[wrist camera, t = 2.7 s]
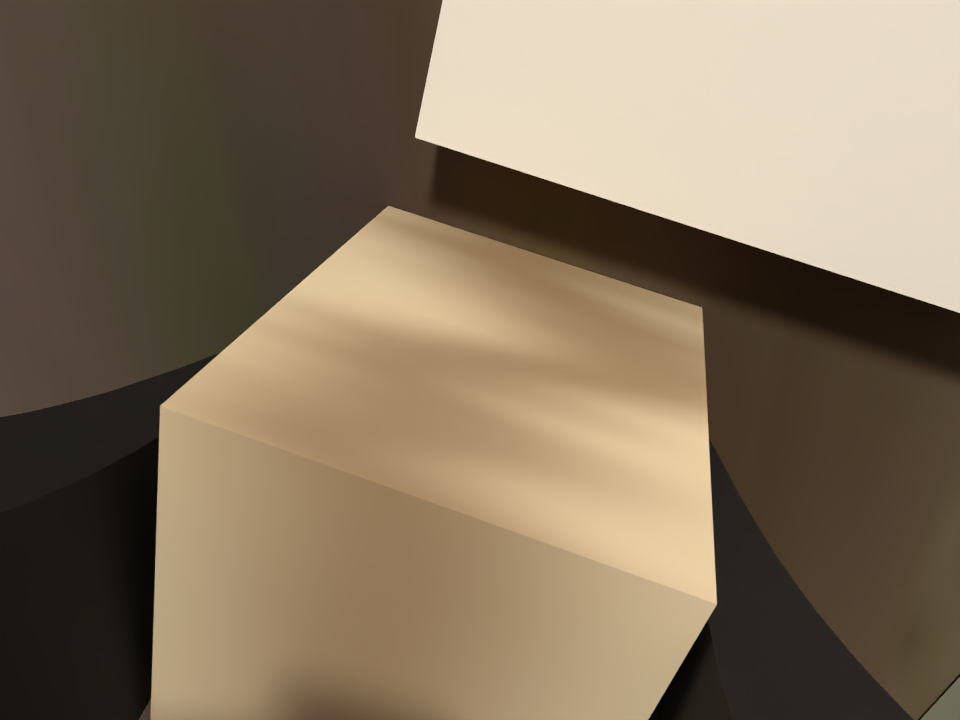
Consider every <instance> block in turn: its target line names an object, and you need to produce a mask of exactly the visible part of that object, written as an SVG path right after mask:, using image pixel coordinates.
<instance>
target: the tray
mask: <svg viewBox="0 0 960 720" xmlns="http://www.w3.org/2000/svg"><path fill="white" fill-rule="evenodd" d="M921 720H960V677H959V678H958V679H957V680H956V681H955V682H954V684H953V685H952V686H951V687H950V688H949V689H948V690H947V691H946V692H945V693H944V694H943V696H942V697H941V698H940V699H939V700H938V701H937V702H936V703H935V704H934V705H933V706H932V708H931V709H930V710H929V711H928V712H927V713H926V714H925V715H924V716H923V717H922V718H921Z"/></svg>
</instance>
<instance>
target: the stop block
mask: <svg viewBox="0 0 960 720" xmlns="http://www.w3.org/2000/svg"><path fill="white" fill-rule="evenodd" d="M716 605H717V594H716V574H715V554H714V534H713V514H712V494H711V474H710V454H709V434H708V414H707V394H706V374H705V354H704V334H703V314H702V308H701V307H698V306H695V305H692V304H689V303H686V302H683V301H680V300H677V299H674V298H671V297H667V296H664V295H661V294H658V293H655V292H652V291H649V290H646V289H643V288H640V287H637V286H634V285H631V284H627V283H624V282H621V281H618V280H615V279H612V278H609V277H606V276H603V275H600V274H597V273H594V272H591V271H587V270H584V269H581V268H578V267H575V266H572V265H569V264H566V263H563V262H560V261H557V260H554V259H551V258H547V257H544V256H541V255H538V254H535V253H532V252H529V251H526V250H523V249H520V248H517V247H514V246H511V245H507V244H504V243H501V242H498V241H495V240H492V239H489V238H486V237H483V236H480V235H477V234H474V233H471V232H467V231H464V230H461V229H458V228H455V227H452V226H449V225H446V224H443V223H440V222H437V221H434V220H431V219H428V218H424V217H421V216H418V215H415V214H412V213H409V212H406V211H403V210H400V209H397V208H394V207H391V206H388V207H386V208H385V209H384V210H383V211H382V212H381V213H380V214H379V215H377V216H376V217H375V218H374V219H373V220H372V221H371V222H369V223H368V224H367V225H366V226H365V227H364V228H363V229H361V230H360V231H359V232H358V233H357V234H356V235H355V236H353V237H352V238H351V239H350V240H349V241H348V242H347V243H345V244H344V245H343V246H342V247H341V248H340V249H339V250H337V251H336V252H335V253H334V254H333V255H332V256H331V257H329V258H328V259H327V260H326V261H325V262H324V263H323V264H321V265H320V266H319V267H318V268H317V269H316V270H315V271H313V272H312V273H311V274H310V275H309V276H308V277H307V278H305V279H304V280H303V281H302V282H301V283H300V284H299V285H297V286H296V287H295V288H294V289H293V290H292V291H291V292H289V293H288V294H287V295H286V296H285V297H284V298H283V299H281V300H280V301H279V302H278V303H277V304H276V305H275V306H273V307H272V308H271V309H270V310H269V311H268V312H267V313H266V314H264V315H263V316H262V317H261V318H260V319H259V320H258V321H256V322H255V323H254V324H253V325H252V326H251V327H250V328H248V329H247V330H246V331H245V332H244V333H243V334H242V335H240V336H239V337H238V338H237V339H236V340H235V341H234V342H232V343H231V344H230V345H229V346H228V347H227V348H226V349H224V350H223V351H222V352H221V353H220V354H219V355H218V356H216V357H215V358H214V359H213V360H212V361H211V362H210V363H208V364H207V365H206V366H205V367H204V368H203V369H202V370H200V371H199V372H198V373H197V374H196V375H195V376H194V377H192V378H191V379H190V380H189V381H188V382H187V383H186V384H184V385H183V386H182V387H181V388H180V389H179V390H178V391H176V392H175V393H174V394H173V395H172V396H171V397H170V398H168V399H167V400H166V401H165V402H164V403H163V404H162V405H160V426H159V459H158V491H157V524H156V557H155V590H154V623H153V656H152V688H151V720H648V719H649V718H650V716H651V714H652V713H653V711H654V709H655V708H656V706H657V704H658V703H659V701H660V699H661V697H662V696H663V694H664V692H665V691H666V689H667V687H668V686H669V684H670V682H671V681H672V679H673V677H674V676H675V674H676V672H677V671H678V669H679V667H680V666H681V664H682V662H683V661H684V659H685V657H686V655H687V654H688V652H689V650H690V649H691V647H692V645H693V644H694V642H695V640H696V639H697V637H698V635H699V634H700V632H701V630H702V629H703V627H704V625H705V624H706V622H707V620H708V618H709V617H710V615H711V613H712V612H713V610H714V608H715V607H716Z"/></svg>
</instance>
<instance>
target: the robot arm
mask: <svg viewBox="0 0 960 720" xmlns="http://www.w3.org/2000/svg"><path fill="white" fill-rule="evenodd" d="M219 354H220V353H218V354H216V355H213V356H210V357H208V358H205V359H203V360H200V361H197V362H195V363H192V364H190V365H187V366H184V367H182V368H179V369H176V370H173V371H170V372H167V373H164V374H161V375H158V376H155V377H152V378H149V379H146V380H143V381H140V382H137V383H134V384H131V385H128V386H125V387H122V388H120V389H116V390H113V391H110V392H106V393H103V394H100V395H96V396H92V397H89V398H85V399H82V400H78V401H74V402H70V403H65V404H61V405H57V406H53V407H49V408H45V409H41V410H36V411H32V412H27V413H22V414H17V415H11V416H6V417H0V720H139V718H140V716H141V714H142V713H143V711H144V709H145V707H146V706H147V704H148V702H149V700H150V699H151V688H152V656H153V623H154V590H155V557H156V524H157V491H158V459H159V426H160V405H162V404H163V403H164V402H165V401H166V400H167V399H168V398H170V397H171V396H172V395H173V394H174V393H175V392H176V391H178V390H179V389H180V388H181V387H182V386H183V385H184V384H186V383H187V382H188V381H189V380H190V379H191V378H192V377H194V376H195V375H196V374H197V373H198V372H199V371H200V370H202V369H203V368H204V367H205V366H206V365H207V364H208V363H210V362H211V361H212V360H213V359H214V358H215V357H216V356H218V355H219ZM709 454H710V474H711V494H712V514H713V534H714V554H715V574H716V594H717V605H716V607H715V608H714V610H713V612H712V613H711V615H710V617H709V618H708V620H707V622H706V624H705V625H704V627H703V629H702V630H701V632H700V634H699V635H698V637H697V639H696V640H695V642H694V644H693V645H692V647H691V649H690V650H689V652H688V654H687V655H686V657H685V659H684V661H683V662H682V664H681V666H680V667H679V669H678V671H677V672H676V674H675V676H674V677H673V679H672V681H671V682H670V684H669V686H668V687H667V689H666V691H665V692H664V694H663V696H662V697H661V699H660V701H659V703H658V704H657V706H656V708H655V709H654V711H653V713H652V714H651V716H650V718H649V719H648V720H913V719H912V718H911V717H910V716H909V715H908V714H907V713H906V712H905V710H904V709H903V708H902V707H901V706H900V705H899V704H898V703H897V702H896V701H895V700H894V699H893V698H892V697H891V696H890V695H889V694H888V693H887V692H886V691H885V690H884V689H883V688H882V687H881V686H880V685H879V683H878V682H877V681H876V680H875V679H874V678H873V677H872V676H871V675H870V674H869V673H868V672H867V671H866V669H865V668H864V667H863V666H862V665H861V664H860V663H859V662H858V661H857V659H856V658H855V657H854V656H853V655H852V654H851V653H850V652H849V650H848V649H847V648H846V647H845V645H844V644H843V643H842V642H841V641H840V639H839V638H838V637H837V636H836V635H835V633H834V632H833V631H832V630H831V629H830V627H829V626H828V625H827V624H826V622H825V621H824V620H823V619H822V618H821V616H820V615H819V614H818V613H817V611H816V610H815V609H814V608H813V606H812V605H811V604H810V602H809V601H808V600H807V598H806V597H805V596H804V594H803V593H802V592H801V590H800V589H799V587H798V586H797V585H796V583H795V582H794V580H793V579H792V577H791V576H790V575H789V573H788V572H787V570H786V569H785V567H784V566H783V565H782V563H781V562H780V560H779V559H778V557H777V556H776V554H775V553H774V551H773V550H772V548H771V547H770V545H769V544H768V542H767V540H766V539H765V537H764V535H763V534H762V532H761V530H760V529H759V527H758V526H757V524H756V522H755V521H754V519H753V517H752V516H751V514H750V512H749V510H748V509H747V507H746V505H745V503H744V502H743V500H742V498H741V496H740V494H739V493H738V491H737V489H736V487H735V485H734V484H733V482H732V480H731V478H730V476H729V474H728V472H727V471H726V469H725V467H724V465H723V463H722V461H721V459H720V457H719V456H718V454H717V452H716V450H715V448H714V447H713V445H712V443H711V441H710V439H709Z"/></svg>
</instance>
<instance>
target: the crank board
mask: <svg viewBox="0 0 960 720" xmlns="http://www.w3.org/2000/svg"><path fill="white" fill-rule="evenodd" d="M415 138H418V139H421V140H424V141H427V142H431V143H434V144H437V145H440V146H443V147H446V148H449V149H452V150H455V151H459V152H462V153H465V154H468V155H471V156H474V157H477V158H480V159H483V160H486V161H490V162H493V163H496V164H499V165H502V166H505V167H508V168H511V169H514V170H518V171H521V172H524V173H527V174H530V175H533V176H536V177H539V178H542V179H545V180H549V181H552V182H555V183H558V184H561V185H564V186H567V187H570V188H573V189H577V190H580V191H583V192H586V193H589V194H592V195H595V196H598V197H601V198H604V199H608V200H611V201H614V202H617V203H620V204H623V205H626V206H629V207H632V208H636V209H639V210H642V211H645V212H648V213H651V214H654V215H657V216H660V217H663V218H667V219H670V220H673V221H676V222H679V223H682V224H685V225H688V226H691V227H695V228H698V229H701V230H704V231H707V232H710V233H713V234H716V235H719V236H722V237H726V238H729V239H732V240H735V241H738V242H741V243H744V244H747V245H750V246H753V247H757V248H760V249H763V250H766V251H769V252H772V253H775V254H778V255H781V256H785V257H788V258H791V259H794V260H797V261H800V262H803V263H806V264H809V265H812V266H816V267H819V268H822V269H825V270H828V271H831V272H834V273H837V274H840V275H844V276H847V277H850V278H853V279H856V280H859V281H862V282H865V283H868V284H871V285H875V286H878V287H881V288H884V289H887V290H890V291H893V292H896V293H899V294H903V295H906V296H909V297H912V298H915V299H918V300H921V301H924V302H927V303H930V304H934V305H937V306H940V307H943V308H946V309H949V310H952V311H955V312H958V313H960V0H443V2H442V7H441V12H440V17H439V22H438V26H437V31H436V36H435V41H434V46H433V51H432V56H431V61H430V66H429V71H428V75H427V80H426V85H425V90H424V95H423V100H422V105H421V110H420V115H419V120H418V125H417V129H416V134H415Z"/></svg>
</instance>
